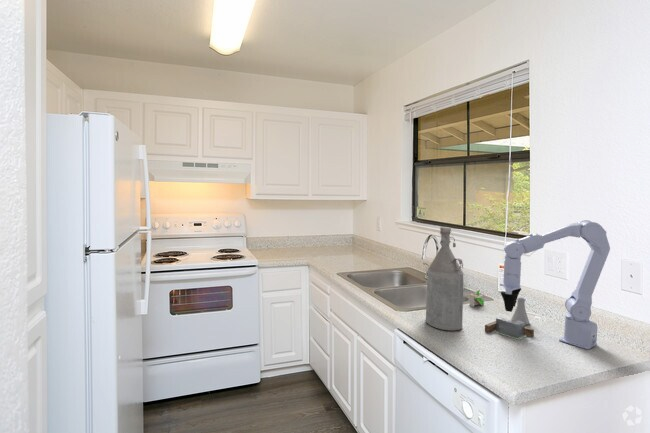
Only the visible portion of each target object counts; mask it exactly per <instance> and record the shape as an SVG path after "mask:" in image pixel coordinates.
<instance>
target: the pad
mask: <svg viewBox="0 0 650 433" xmlns="http://www.w3.org/2000/svg"><path fill="white" fill-rule="evenodd" d="M493 332H494V333H495V334H496V333H497V334H500V335H502V336H506V337H509V338H511V339H515V340H518V341H521V340H522V339H525V338H527V337H528V336H527V335H524V336H522V337H519V338H515V337H512V336H509V335H506V334H503V333H500V332H497V331H496V330H493Z"/></svg>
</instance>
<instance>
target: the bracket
mask: <svg viewBox="0 0 650 433" xmlns="http://www.w3.org/2000/svg"><path fill="white" fill-rule="evenodd" d="M495 321H496V330H495V331H497V332H500V333H503V334H506V335H509V336H512V337H515V338H519V337H522V336H524V331H525V327H526V325H525V322H521V321H516V322H514V321H511V319H507V318H504V317H500V316H499V317H496V318H495Z"/></svg>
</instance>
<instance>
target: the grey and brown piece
mask: <svg viewBox="0 0 650 433" xmlns="http://www.w3.org/2000/svg"><path fill="white" fill-rule="evenodd" d="M494 331H496V320H495V321H492V322H489V323H486V324H484V332H486V333H492V332H494ZM524 335H526V336H527V337H530V338H532V337H534V336H535V329H534V328H530V327H526V326H525V331H524Z"/></svg>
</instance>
